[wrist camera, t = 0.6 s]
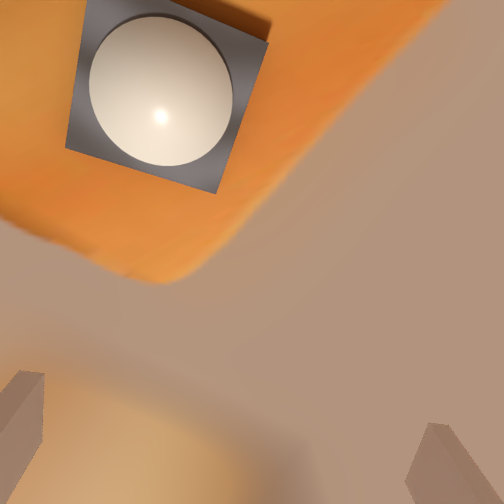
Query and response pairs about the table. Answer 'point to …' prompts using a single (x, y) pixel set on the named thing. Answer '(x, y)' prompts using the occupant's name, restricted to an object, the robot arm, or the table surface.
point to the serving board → (161, 89)
